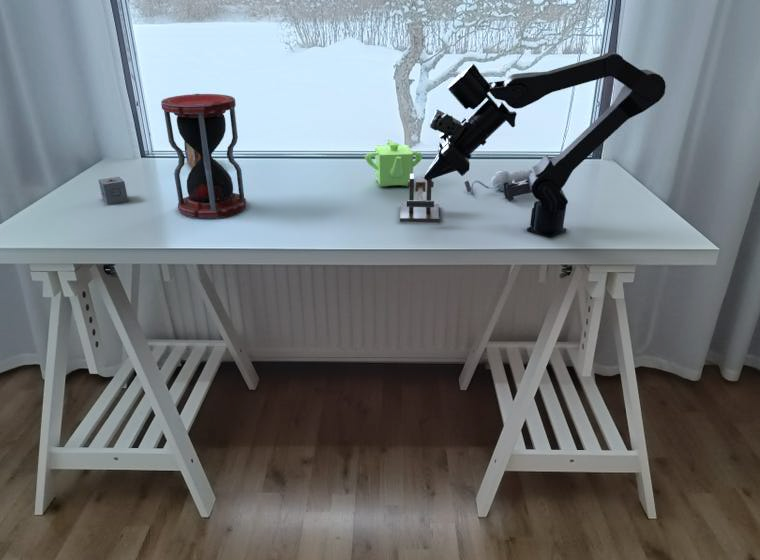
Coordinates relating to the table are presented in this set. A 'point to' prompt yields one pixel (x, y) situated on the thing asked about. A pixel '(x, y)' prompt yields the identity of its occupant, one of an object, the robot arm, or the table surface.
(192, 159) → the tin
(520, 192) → the clip-on lamp
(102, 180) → the dice cube
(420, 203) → the tap lever
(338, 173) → the table surface
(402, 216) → the stand
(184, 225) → the table surface
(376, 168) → the teapot
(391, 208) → the table surface
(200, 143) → the hourglass
